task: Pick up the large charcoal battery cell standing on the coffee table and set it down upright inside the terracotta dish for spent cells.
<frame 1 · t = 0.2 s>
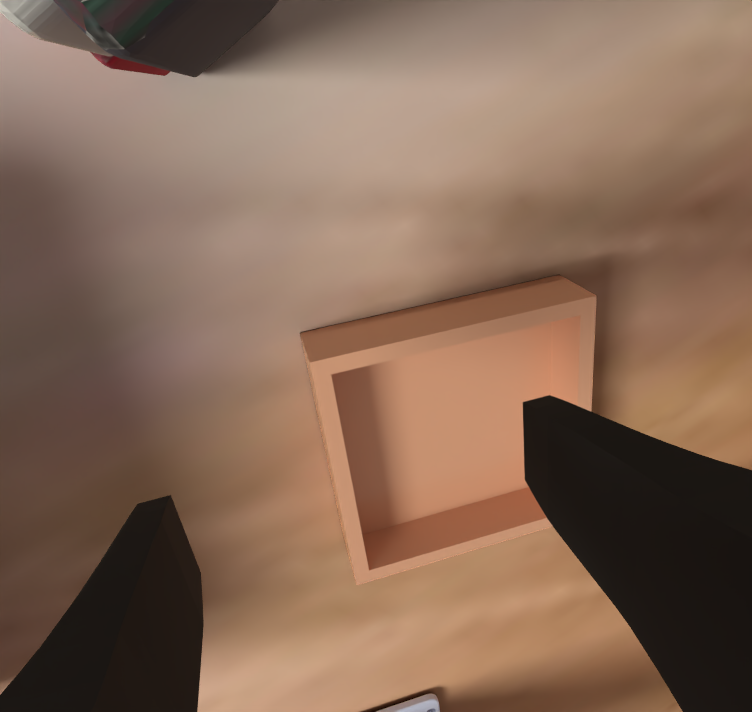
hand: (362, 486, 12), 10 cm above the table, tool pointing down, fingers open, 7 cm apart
dish: (445, 416, 24), on the table
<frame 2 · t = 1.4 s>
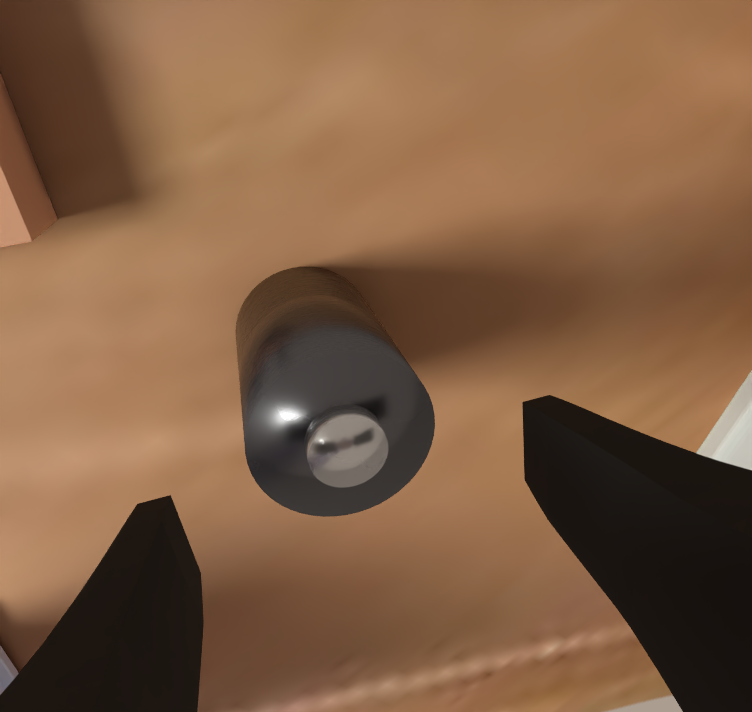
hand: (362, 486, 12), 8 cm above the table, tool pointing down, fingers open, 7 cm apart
external hard drive: (731, 475, 28), on the table
cell: (304, 332, 19), on the table
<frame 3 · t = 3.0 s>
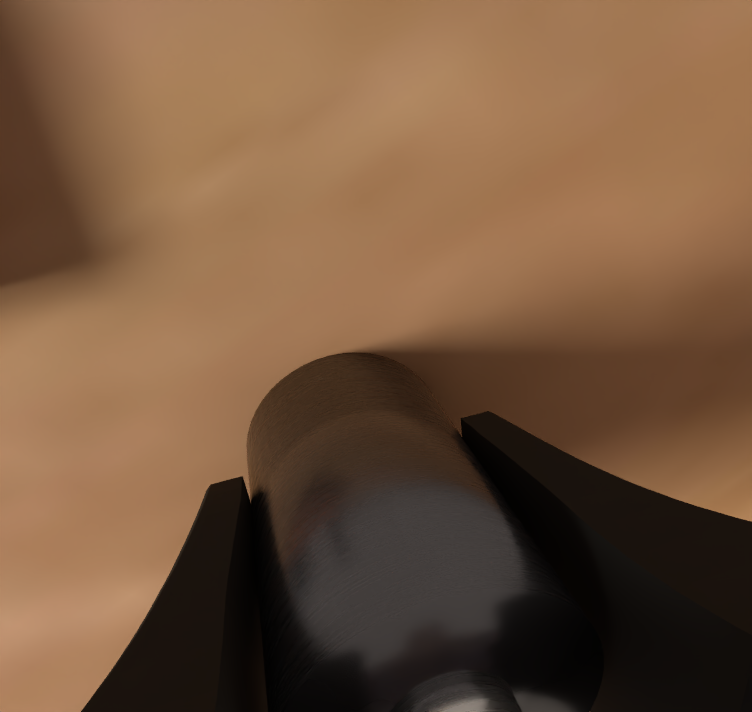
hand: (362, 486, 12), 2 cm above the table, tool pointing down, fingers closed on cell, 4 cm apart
cell: (346, 441, 13), on the table, touching gripper
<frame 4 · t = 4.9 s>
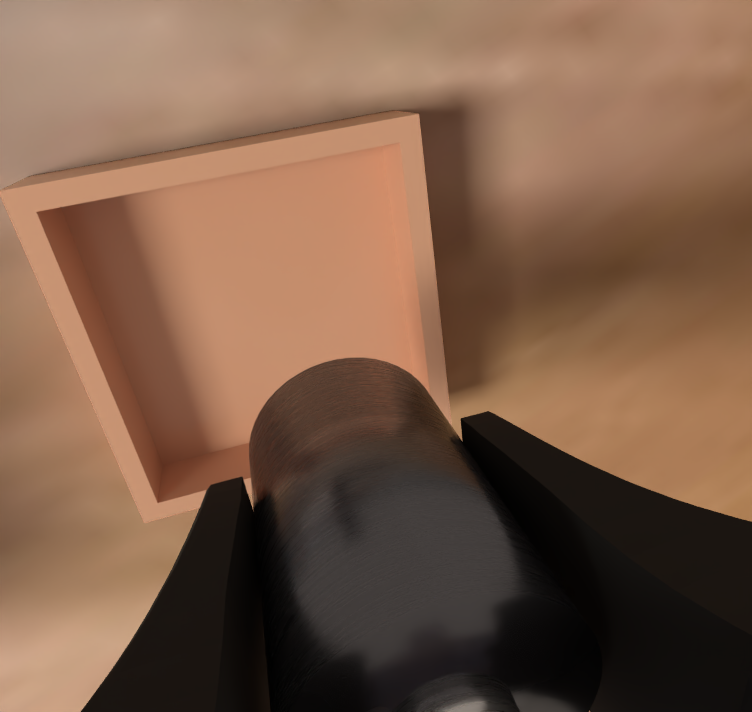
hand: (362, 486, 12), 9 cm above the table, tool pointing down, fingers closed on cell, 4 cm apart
dish: (262, 307, 19), on the table
cell: (347, 445, 13), point 7 cm above the table, touching gripper
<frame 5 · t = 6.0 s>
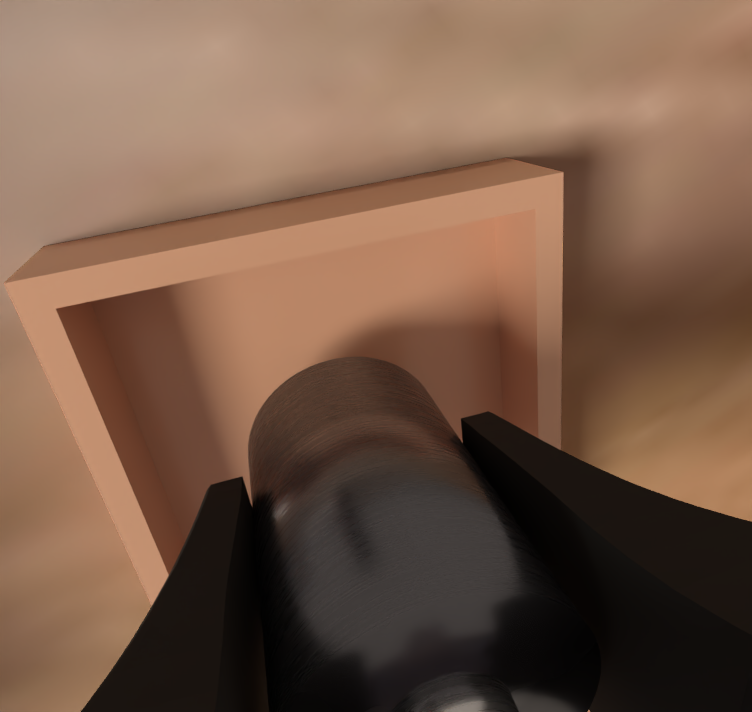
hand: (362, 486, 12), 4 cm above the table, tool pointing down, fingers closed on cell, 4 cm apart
dish: (330, 397, 15), on the table
cell: (346, 444, 13), point 2 cm above the table, touching gripper
when the fingers open (4 cm above the table, at t = 6.9 s): cell drops 1 cm, resting on dish.
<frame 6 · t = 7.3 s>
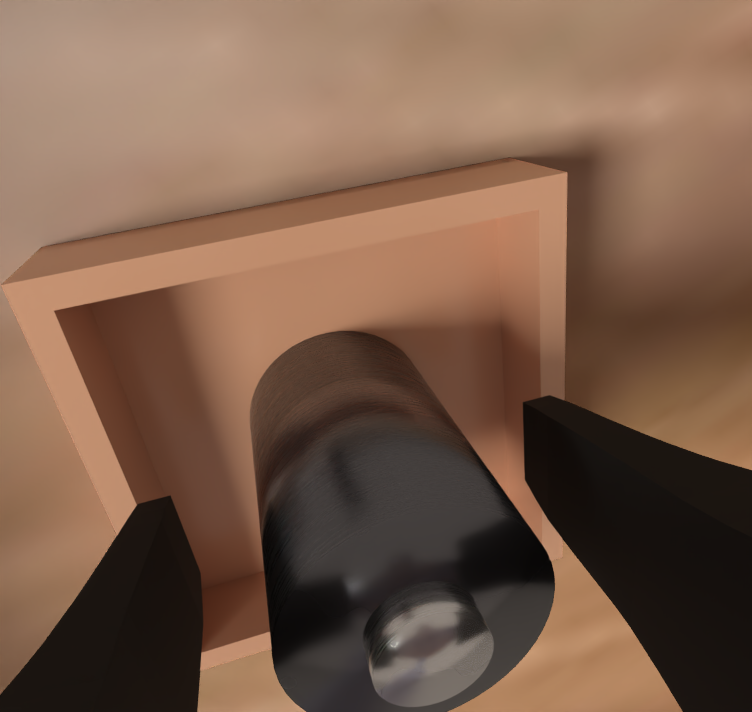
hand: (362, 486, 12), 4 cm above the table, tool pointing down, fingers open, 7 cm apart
dish: (331, 399, 15), on the table
cell: (339, 412, 14), point 1 cm above the table, touching dish
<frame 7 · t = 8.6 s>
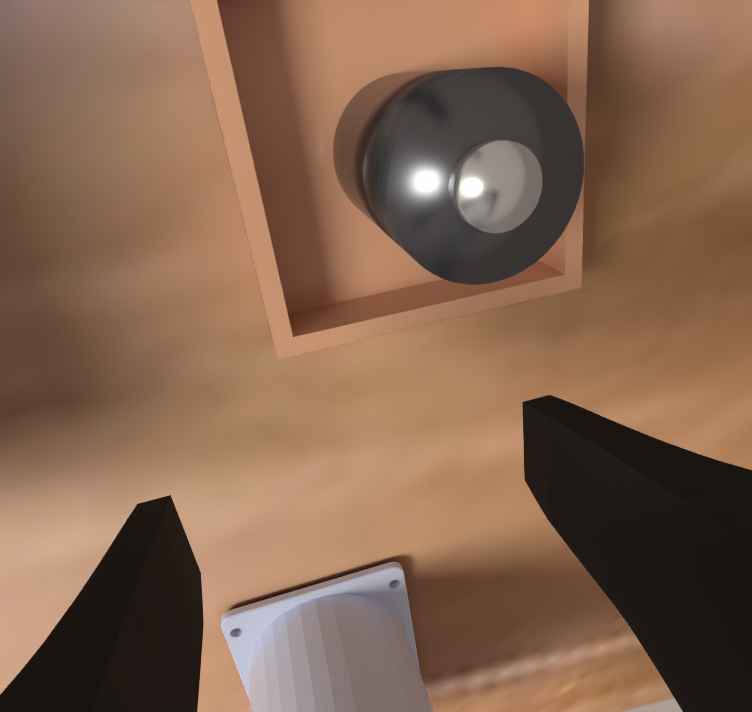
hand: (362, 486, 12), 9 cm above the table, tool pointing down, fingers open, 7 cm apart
dish: (395, 146, 18), on the table
cell: (403, 152, 18), point 1 cm above the table, touching dish
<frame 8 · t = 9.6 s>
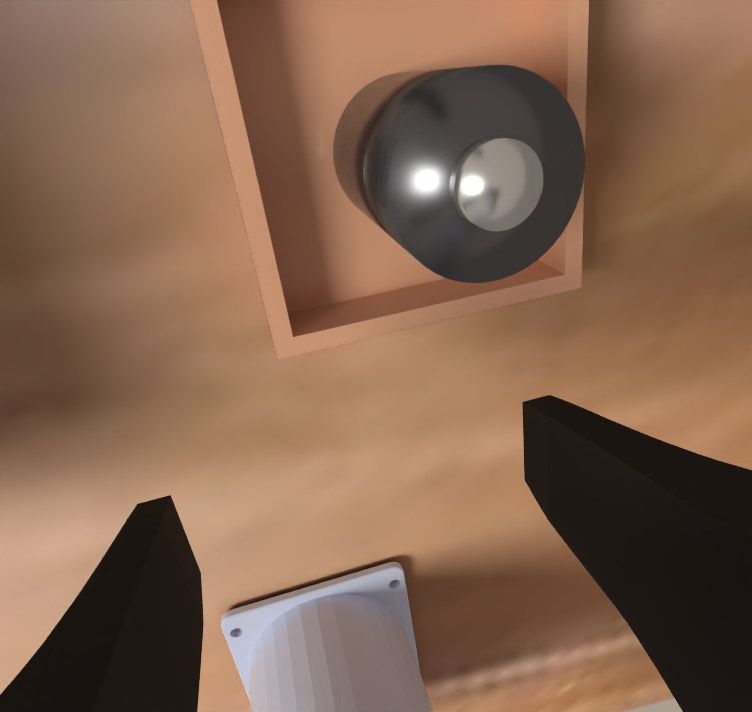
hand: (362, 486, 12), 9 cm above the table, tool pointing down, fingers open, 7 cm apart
dish: (395, 146, 18), on the table
cell: (403, 152, 18), point 1 cm above the table, touching dish
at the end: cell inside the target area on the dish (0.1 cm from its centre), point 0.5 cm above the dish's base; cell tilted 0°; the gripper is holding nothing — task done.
